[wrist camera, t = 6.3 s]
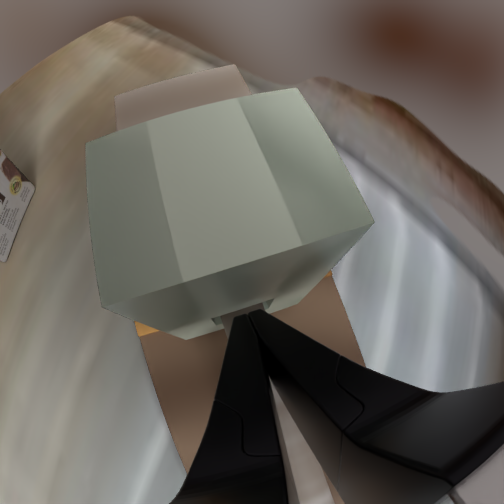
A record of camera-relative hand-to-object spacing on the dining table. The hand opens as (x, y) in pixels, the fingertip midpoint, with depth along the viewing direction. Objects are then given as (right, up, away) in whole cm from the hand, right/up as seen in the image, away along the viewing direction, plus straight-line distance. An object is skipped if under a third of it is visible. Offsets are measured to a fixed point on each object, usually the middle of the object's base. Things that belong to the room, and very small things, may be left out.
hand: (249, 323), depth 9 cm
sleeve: (-1, +1, +6) cm, 6 cm away
